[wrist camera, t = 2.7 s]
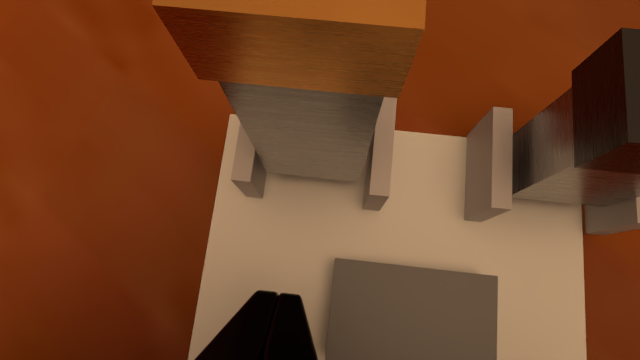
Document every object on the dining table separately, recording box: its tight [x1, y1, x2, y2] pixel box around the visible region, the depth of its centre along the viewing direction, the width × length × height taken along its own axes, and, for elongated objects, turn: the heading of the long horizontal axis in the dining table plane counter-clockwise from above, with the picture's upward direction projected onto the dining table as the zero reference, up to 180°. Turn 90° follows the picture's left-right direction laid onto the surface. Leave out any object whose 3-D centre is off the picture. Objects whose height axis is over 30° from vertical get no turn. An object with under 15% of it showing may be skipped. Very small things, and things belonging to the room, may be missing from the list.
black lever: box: [512, 28, 640, 207], centre depth 11 cm, size 2×3×7 cm
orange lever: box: [152, 0, 426, 182], centre depth 10 cm, size 2×3×10 cm
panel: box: [188, 97, 640, 360], centre depth 14 cm, size 14×14×4 cm
